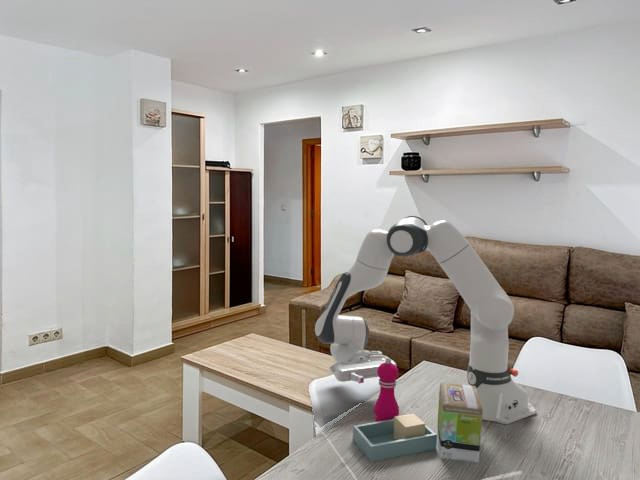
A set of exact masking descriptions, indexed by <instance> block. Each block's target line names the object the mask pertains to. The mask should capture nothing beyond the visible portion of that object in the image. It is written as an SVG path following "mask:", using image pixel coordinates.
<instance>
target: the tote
mask: <svg viewBox="0 0 640 480" xmlns="http://www.w3.org/2000/svg"><path fill="white" fill-rule="evenodd" d="M352 428H353V429H352V440H353V442H354V443H355V444H356V446H357V447H358V448H359V449H360V451H361V452H362V453H363V454H364V456H365V457H366V458H367V459H368V460H369V462H370V463H372V462H377V461H382V460H387V459H392V458H397V457H398V458H399V457H402V456H408V455H412V454H417V453H418V454H419V453H422V452H428V451H432V450H437V445H438V444H437V443H438V433H436V432H435V431H433V430H432V429H431V428H430V427H429V426H428V425H426V424H425V435H422V436H417V437H411V438H406V439H401V440H395V439H394V438H393V436H394V419H391V420H385V421H379V422H375V421H374V422H369V423H368V422H367V423H364V424H363V423H362V424H357V425H356V424H355V425H352Z"/></svg>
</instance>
